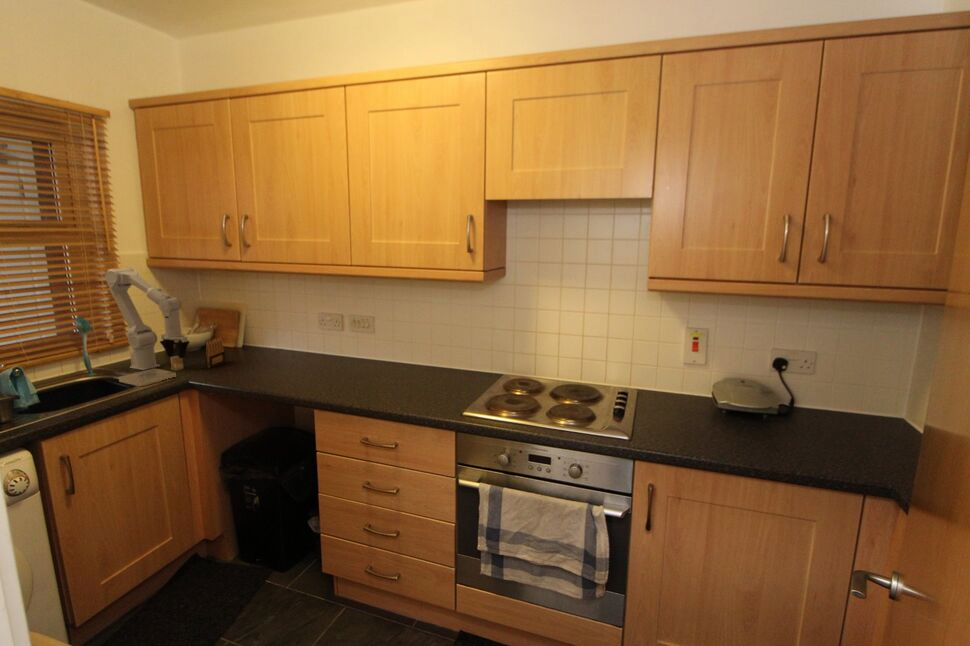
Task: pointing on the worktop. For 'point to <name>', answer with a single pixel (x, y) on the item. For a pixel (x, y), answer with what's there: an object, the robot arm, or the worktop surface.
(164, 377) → the plate with square hole
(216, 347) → the ammunition clip
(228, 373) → the worktop surface
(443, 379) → the worktop surface
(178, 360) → the wooden block
